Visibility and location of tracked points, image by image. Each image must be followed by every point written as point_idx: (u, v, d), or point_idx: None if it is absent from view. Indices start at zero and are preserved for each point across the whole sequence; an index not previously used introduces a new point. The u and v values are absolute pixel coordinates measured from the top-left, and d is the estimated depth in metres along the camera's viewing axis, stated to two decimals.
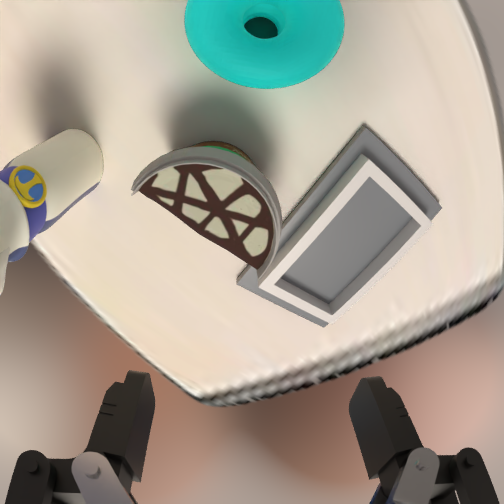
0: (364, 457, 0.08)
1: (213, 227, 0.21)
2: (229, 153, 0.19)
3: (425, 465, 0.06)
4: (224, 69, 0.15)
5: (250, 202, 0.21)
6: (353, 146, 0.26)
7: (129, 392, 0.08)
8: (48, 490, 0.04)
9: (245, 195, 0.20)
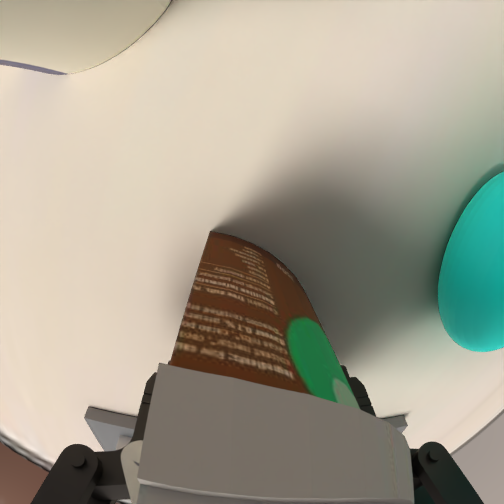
0: None
1: None
2: None
3: None
4: None
5: None
6: None
7: None
8: (90, 486, 0.05)
9: None
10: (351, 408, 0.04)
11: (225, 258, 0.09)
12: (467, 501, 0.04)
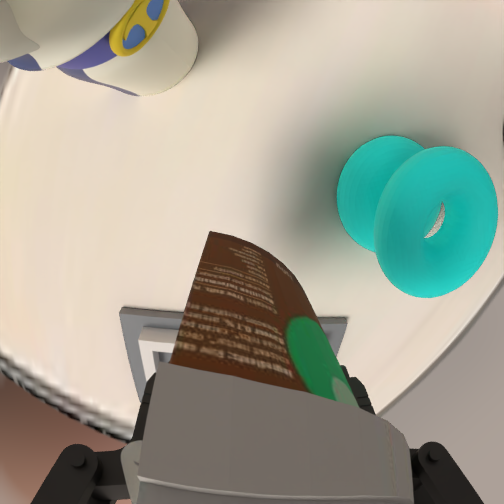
0: None
1: None
2: None
3: None
4: (395, 226, 0.15)
5: None
6: (325, 325, 0.28)
7: None
8: (90, 486, 0.05)
9: None
10: (350, 406, 0.04)
11: (224, 258, 0.09)
12: (467, 501, 0.04)
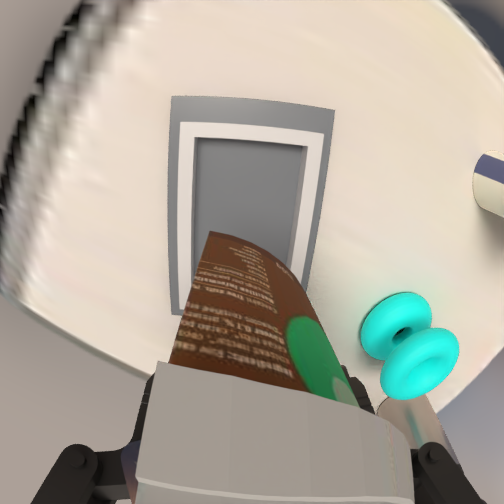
0: None
1: None
2: None
3: None
4: (442, 341, 0.24)
5: None
6: None
7: None
8: (90, 486, 0.05)
9: None
10: (350, 406, 0.04)
11: (224, 257, 0.09)
12: (467, 501, 0.04)
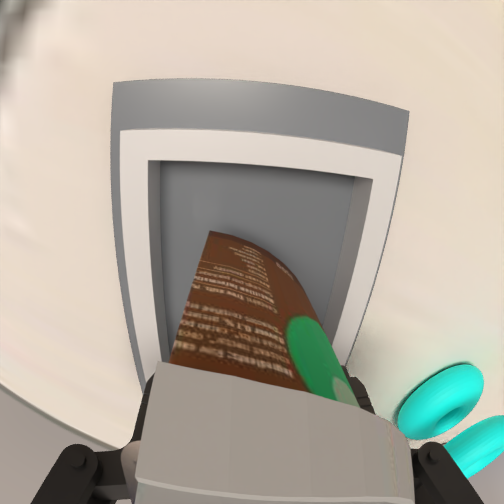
0: None
1: None
2: None
3: None
4: (503, 437, 0.13)
5: None
6: None
7: None
8: (90, 486, 0.05)
9: None
10: (351, 406, 0.04)
11: (224, 257, 0.09)
12: (467, 500, 0.04)
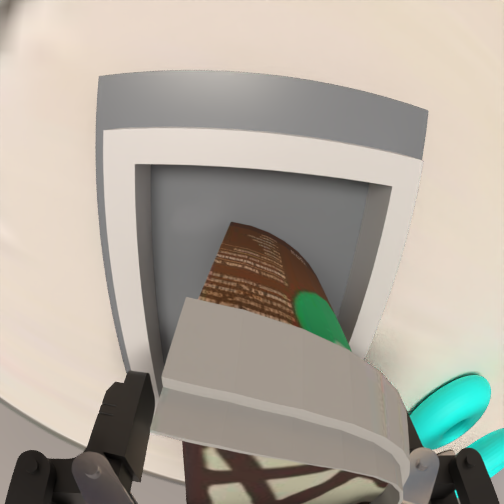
0: None
1: None
2: None
3: (425, 465, 0.06)
4: None
5: None
6: None
7: (129, 392, 0.08)
8: (48, 490, 0.04)
9: None
10: (342, 347, 0.05)
11: (243, 242, 0.10)
12: None
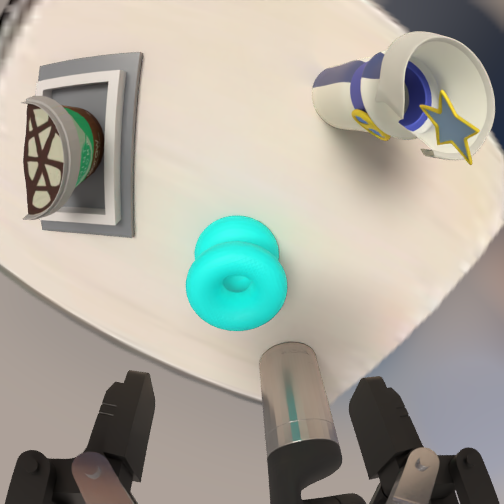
0: (364, 457, 0.09)
1: (31, 166, 0.21)
2: (77, 140, 0.21)
3: (425, 465, 0.06)
4: (240, 253, 0.27)
5: (56, 175, 0.22)
6: (129, 219, 0.34)
7: (129, 392, 0.08)
8: (48, 490, 0.04)
9: (58, 169, 0.22)
10: None
11: None
12: None
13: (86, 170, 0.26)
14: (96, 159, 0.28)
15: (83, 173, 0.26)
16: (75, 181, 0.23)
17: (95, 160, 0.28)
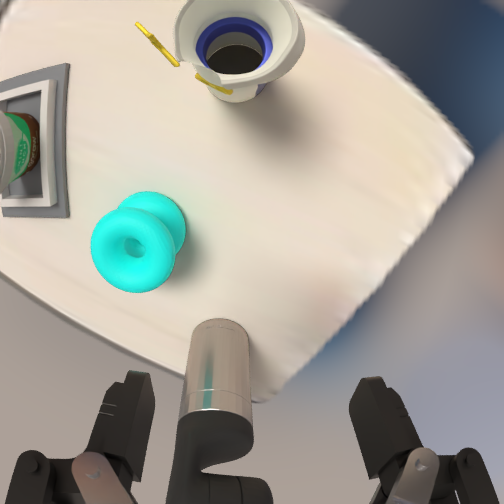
0: (364, 457, 0.09)
1: None
2: (11, 136, 0.24)
3: (425, 465, 0.06)
4: (124, 216, 0.28)
5: None
6: (63, 202, 0.35)
7: (129, 392, 0.08)
8: (48, 490, 0.04)
9: None
10: None
11: (14, 112, 0.27)
12: None
13: (25, 161, 0.28)
14: (35, 152, 0.30)
15: (22, 163, 0.28)
16: (11, 168, 0.25)
17: (34, 153, 0.30)
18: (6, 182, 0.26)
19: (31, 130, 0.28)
